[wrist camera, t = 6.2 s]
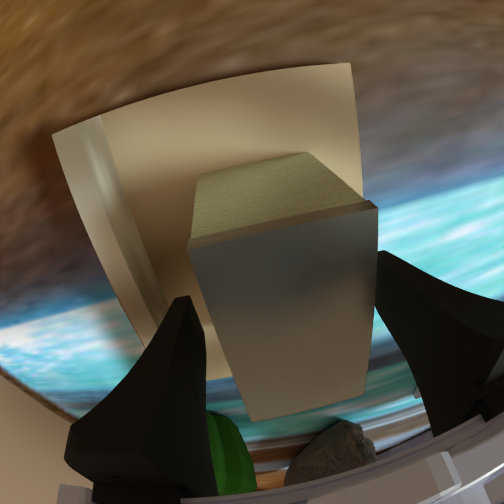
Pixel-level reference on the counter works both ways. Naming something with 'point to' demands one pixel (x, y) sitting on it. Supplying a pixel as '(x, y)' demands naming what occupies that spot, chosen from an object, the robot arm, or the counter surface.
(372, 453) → the perforated stone tool
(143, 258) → the shelf board
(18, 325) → the counter surface
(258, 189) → the tea tin
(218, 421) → the bell pepper
